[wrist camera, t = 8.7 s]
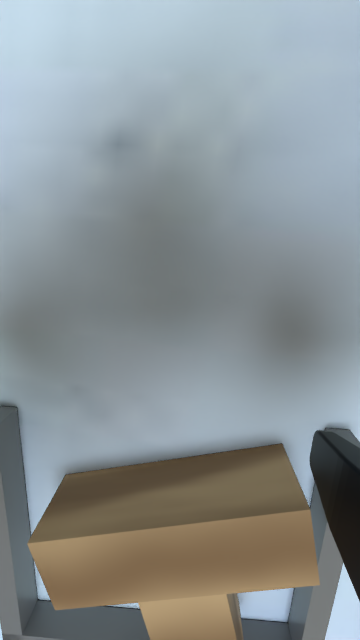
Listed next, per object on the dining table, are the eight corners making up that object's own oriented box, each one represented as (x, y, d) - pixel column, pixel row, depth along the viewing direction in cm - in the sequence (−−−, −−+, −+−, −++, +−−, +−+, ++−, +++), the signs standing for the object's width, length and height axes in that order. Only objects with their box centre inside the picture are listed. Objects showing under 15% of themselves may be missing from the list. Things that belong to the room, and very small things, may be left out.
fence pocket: (-6, 405, 16) (-30, 426, 14) (349, 429, 15) (369, 454, 14) (20, 612, 20) (4, 647, 18) (304, 638, 19) (315, 678, 17)
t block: (65, 474, 17) (26, 543, 13) (282, 443, 16) (310, 509, 12) (115, 615, 20) (95, 707, 16) (304, 598, 18) (333, 693, 14)
